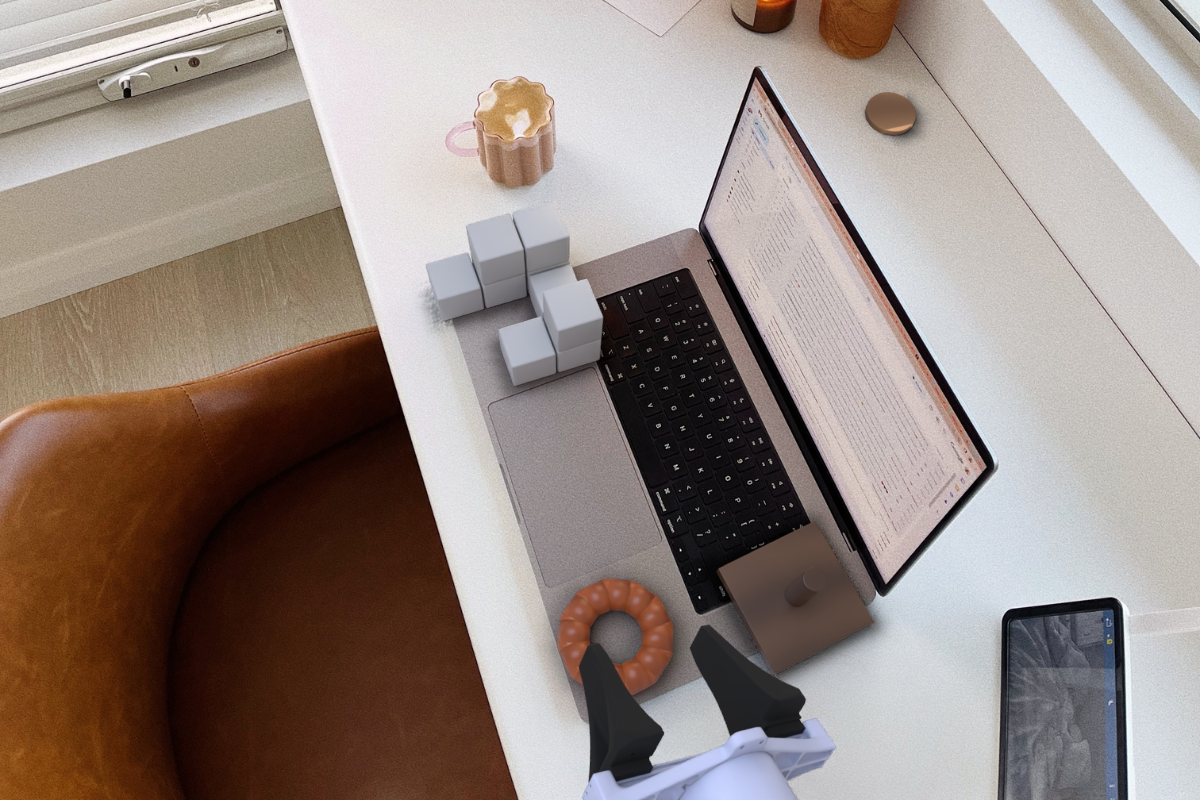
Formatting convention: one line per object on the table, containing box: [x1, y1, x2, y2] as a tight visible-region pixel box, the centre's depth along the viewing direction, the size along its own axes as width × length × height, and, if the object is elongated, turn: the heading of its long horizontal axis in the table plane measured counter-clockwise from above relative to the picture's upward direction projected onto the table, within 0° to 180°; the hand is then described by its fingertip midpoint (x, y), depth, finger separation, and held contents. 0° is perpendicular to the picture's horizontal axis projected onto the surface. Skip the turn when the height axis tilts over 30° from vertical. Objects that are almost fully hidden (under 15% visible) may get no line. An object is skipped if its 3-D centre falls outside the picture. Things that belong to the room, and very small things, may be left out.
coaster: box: [864, 91, 917, 136], centre depth 92 cm, size 5×5×1 cm
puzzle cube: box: [425, 200, 604, 387], centre depth 78 cm, size 12×12×8 cm
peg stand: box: [716, 521, 875, 677], centre depth 70 cm, size 9×9×7 cm
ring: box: [557, 578, 674, 696], centre depth 70 cm, size 9×9×2 cm
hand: (646, 645), depth 53 cm, fingers open, 7 cm apart
